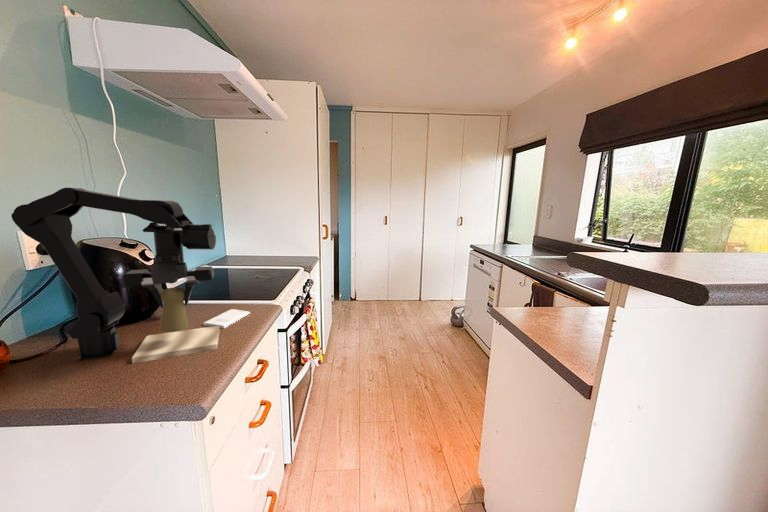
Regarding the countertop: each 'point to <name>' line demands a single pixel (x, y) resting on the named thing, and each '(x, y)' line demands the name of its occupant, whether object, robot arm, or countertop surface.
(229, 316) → the external hard drive
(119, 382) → the countertop surface
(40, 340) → the countertop surface
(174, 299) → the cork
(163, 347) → the birch board
